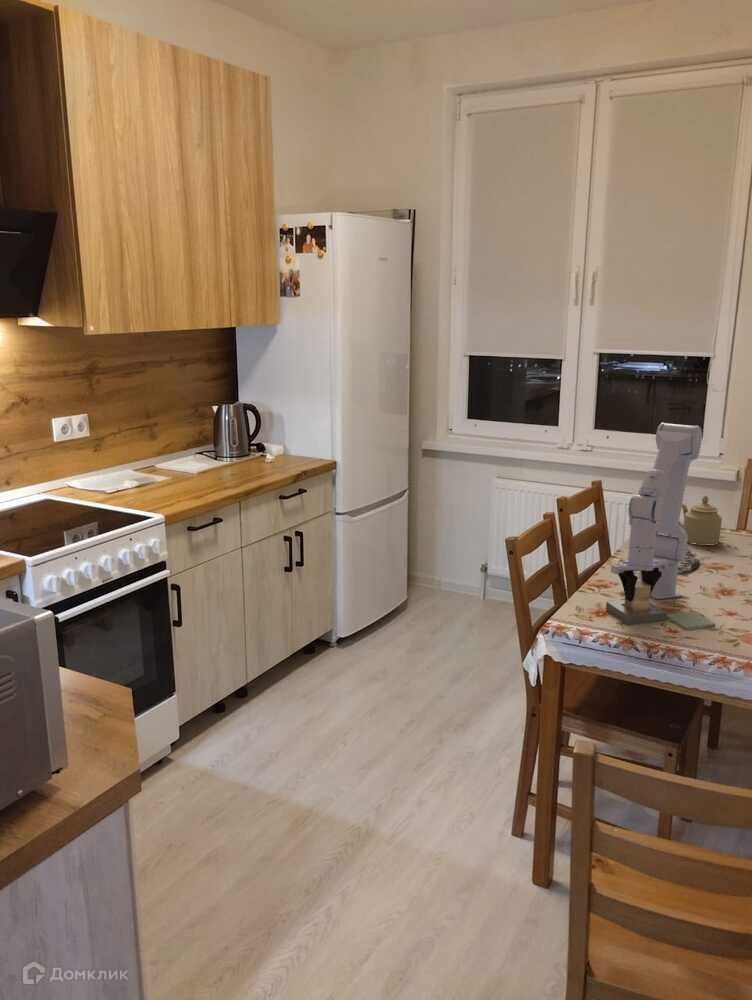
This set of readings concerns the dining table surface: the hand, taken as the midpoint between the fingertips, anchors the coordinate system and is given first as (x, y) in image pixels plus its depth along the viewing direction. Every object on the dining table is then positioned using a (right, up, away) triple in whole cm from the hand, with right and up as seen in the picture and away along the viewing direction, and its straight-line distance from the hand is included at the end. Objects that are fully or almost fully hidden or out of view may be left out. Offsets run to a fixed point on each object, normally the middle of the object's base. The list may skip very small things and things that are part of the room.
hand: (637, 599), depth 187 cm
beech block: (0, -3, +1) cm, 3 cm away
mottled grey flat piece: (+27, +5, +42) cm, 50 cm away
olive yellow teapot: (+39, +11, +62) cm, 74 cm away
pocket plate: (0, -4, +1) cm, 4 cm away
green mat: (+12, -5, -3) cm, 13 cm away
